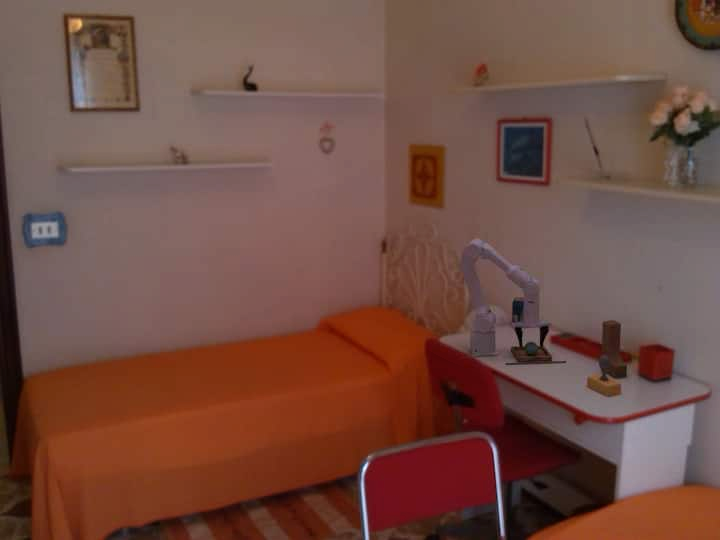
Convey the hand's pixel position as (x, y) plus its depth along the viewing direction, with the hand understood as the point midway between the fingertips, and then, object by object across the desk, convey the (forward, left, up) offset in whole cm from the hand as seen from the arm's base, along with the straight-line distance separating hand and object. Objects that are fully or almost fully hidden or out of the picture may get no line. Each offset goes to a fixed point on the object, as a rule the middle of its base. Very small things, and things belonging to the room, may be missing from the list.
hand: (531, 346), depth 265 cm
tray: (0, 0, -4) cm, 4 cm away
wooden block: (+24, -20, -4) cm, 32 cm away
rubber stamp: (+16, -34, -4) cm, 38 cm away
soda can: (+4, +38, -4) cm, 38 cm away
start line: (0, -8, -4) cm, 9 cm away
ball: (0, 0, -1) cm, 1 cm away
